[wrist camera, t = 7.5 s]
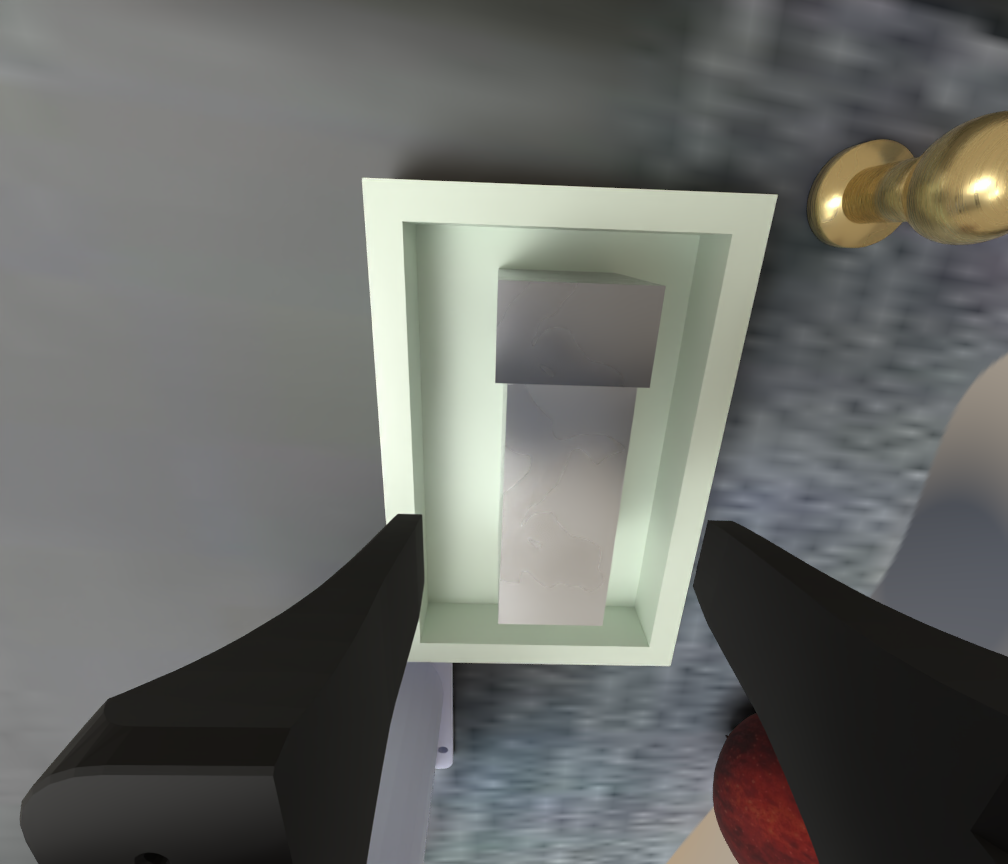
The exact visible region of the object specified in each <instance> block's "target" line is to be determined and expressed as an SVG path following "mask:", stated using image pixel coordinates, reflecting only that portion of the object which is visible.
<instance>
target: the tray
mask: <svg viewBox="0 0 1008 864" xmlns="http://www.w3.org/2000/svg"><path fill="white" fill-rule="evenodd" d="M362 186H363V201H364V215H365V229H366V243H367V258H368V272H369V286H370V300H371V314H372V329H373V343H374V357H375V371H376V386H377V400H378V414H379V428H380V443H381V457H382V471H383V485H384V500H385V514H386V525H387V524H388V523H389V522H390V521H391V520H392V519H393V518H394V517H395V516H396V515H397V514H422V519H423V548H424V577H425V582H424V589H423V596H422V603H421V609H420V615H419V620H418V624H417V628H416V631H415V635H414V639H413V642H412V646H411V650H410V653H409V657H408V660H407V662H445V663H507V664H569V665H631V666H670V665H671V661H672V657H673V652H674V648H675V643H676V639H677V635H678V630H679V626H680V621H681V617H682V613H683V608H684V604H685V600H686V595H687V591H688V586H689V582H690V578H691V573H692V569H693V565H694V560H695V556H696V551H697V547H698V543H699V538H700V534H701V529H702V525H703V521H704V516H705V512H706V508H707V503H708V499H709V494H710V490H711V486H712V481H713V477H714V472H715V468H716V464H717V459H718V455H719V451H720V446H721V442H722V437H723V433H724V429H725V424H726V420H727V416H728V411H729V407H730V402H731V398H732V394H733V389H734V385H735V380H736V376H737V372H738V367H739V363H740V359H741V354H742V350H743V345H744V341H745V337H746V332H747V328H748V323H749V319H750V315H751V310H752V306H753V302H754V297H755V293H756V288H757V284H758V280H759V275H760V271H761V267H762V262H763V258H764V253H765V249H766V245H767V240H768V236H769V231H770V227H771V223H772V218H773V214H774V210H775V205H776V201H777V196H778V195H774V194H750V193H725V192H700V191H676V190H651V189H627V188H602V187H577V186H553V185H528V184H504V183H479V182H454V181H430V180H405V179H380V178H362ZM498 269H523V270H550V271H577V272H605V273H617V274H621V275H625V276H629V277H633V278H637V279H640V280H644V281H648V282H652V283H656V284H660V285H664V286H666V288H665V294H664V300H663V307H662V313H661V319H660V326H659V332H658V338H657V345H656V351H655V357H654V364H653V370H652V376H651V383H650V388H637V395H636V402H635V408H634V415H633V422H632V429H631V435H630V442H629V449H628V456H627V462H626V469H625V476H624V483H623V489H622V496H621V503H620V510H619V517H618V523H617V530H616V537H615V544H614V550H613V557H612V564H611V571H610V577H609V584H608V591H607V598H606V604H605V611H604V618H603V625H602V626H583V625H529V624H498V519H499V491H500V463H501V435H502V407H503V383H495V368H496V326H497V291H498Z"/></svg>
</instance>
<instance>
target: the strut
mask: <svg viewBox="0 0 1008 864" xmlns="http://www.w3.org/2000/svg"><path fill="white" fill-rule="evenodd" d="M665 288H666V286H664V285H660V284H656V283H652V282H648V281H644V280H640V279H637V278H633V277H629V276H625V275H621V274H617V273H605V272H577V271H550V270H523V269H498V291H497V326H496V368H495V383H503V407H502V435H501V463H500V491H499V519H498V624H529V625H583V626H602V625H603V618H604V611H605V604H606V598H607V591H608V584H609V577H610V571H611V564H612V557H613V550H614V544H615V537H616V530H617V523H618V517H619V510H620V503H621V496H622V489H623V483H624V476H625V469H626V462H627V456H628V449H629V442H630V435H631V429H632V422H633V415H634V408H635V402H636V395H637V388H650V383H651V376H652V370H653V364H654V357H655V351H656V345H657V338H658V332H659V326H660V319H661V313H662V307H663V300H664V294H665Z"/></svg>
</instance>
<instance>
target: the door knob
mask: <svg viewBox="0 0 1008 864" xmlns="http://www.w3.org/2000/svg"><path fill="white" fill-rule="evenodd" d="M807 217H808V222H809V225H810V228H811V230H812V232H813V233H814V235H815V236H816V237H817V238H818V239H819V240H820V241H822V242H823V243H825V244H827V245H829V246H833V247H839V248H860V247H866V246H869V245H872V244H874V243H877V242H879V241H881V240H882V239H884V238H885V237H887V236H888V235H890V234H891V233H892V232H893V231H894V230H895V229H896V228H897V227H898V226H899V225H900V224H901V223H902V222H908V223H909V224H910V226H911V227H912V228H913V229H914V230H915V231H916V232H917V233H919V234H920V235H921V236H923V237H925V238H927V239H929V240H931V241H935V242H938V243H942V244H950V245H967V244H975V243H980V242H985V241H988V240H992V239H995V238H998V237H1000V236H1003V235H1005V234H1008V111H1001V112H996V113H990V114H987V115H983V116H980V117H977V118H974V119H972V120H970V121H967V122H965V123H963V124H961V125H959V126H957V127H955V128H954V129H952V130H950V131H949V132H947V133H946V134H944V135H943V136H942V137H940V138H939V139H938V140H936V141H935V142H934V143H933V144H932V145H931V146H930V147H929V148H928V149H927V150H926V151H925V152H924V153H923V154H922V155H921V156H920V157H917V158H914V157H913V155H912V154H911V152H910V151H909V150H908V149H907V148H906V147H905V146H903V145H902V144H900V143H898V142H895V141H892V140H885V139H884V140H874V141H869V142H866V143H862V144H858V145H855V146H852V147H849V148H847V149H845V150H843V151H842V152H840V153H838V154H837V155H836V156H834V157H833V158H832V159H831V160H830V161H829V162H828V163H827V164H826V165H825V166H824V167H823V168H822V169H821V171H820V172H819V174H818V175H817V177H816V179H815V180H814V182H813V185H812V187H811V190H810V193H809V196H808V201H807Z"/></svg>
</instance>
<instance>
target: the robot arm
mask: <svg viewBox="0 0 1008 864" xmlns="http://www.w3.org/2000/svg"><path fill="white" fill-rule="evenodd" d="M424 582H425V577H424V548H423V519H422V514H397V515H396V516H395V517H394V518H393V519H392V520H391V521H390V522H389V523H388V524H387V525H386V526H385V527H384V528H383V529H382V530H381V531H380V532H379V533H378V534H377V535H376V536H375V537H374V538H373V539H372V540H371V541H370V542H369V543H368V544H367V545H366V546H365V547H364V548H363V549H362V550H361V551H360V552H359V553H358V554H356V555H355V556H354V557H353V558H352V559H351V560H350V561H349V562H348V563H347V564H346V565H345V566H343V567H342V568H341V569H340V570H339V571H338V572H336V573H335V574H334V575H333V576H332V577H330V578H329V579H328V580H327V581H326V582H325V583H323V584H322V585H321V586H320V587H318V588H317V589H316V590H314V591H313V592H312V593H310V594H309V595H308V596H306V597H305V598H303V599H302V600H300V601H299V602H298V603H296V604H295V605H293V606H292V607H290V608H289V609H287V610H286V611H284V612H283V613H281V614H280V615H278V616H276V617H275V618H273V619H271V620H270V621H268V622H266V623H265V624H263V625H261V626H260V627H258V628H256V629H255V630H253V631H251V632H250V633H248V634H247V635H245V636H243V637H241V638H240V639H238V640H236V641H234V642H232V643H230V644H228V645H226V646H225V647H223V648H221V649H219V650H217V651H215V652H213V653H211V654H209V655H207V656H205V657H203V658H201V659H199V660H197V661H195V662H193V663H191V664H189V665H186V666H184V667H182V668H180V669H178V670H176V671H173V672H171V673H169V674H166V675H164V676H162V677H159V678H157V679H155V680H152V681H150V682H148V683H145V684H143V685H141V686H138V687H136V688H134V689H131V690H129V691H127V692H124V693H122V694H119V695H117V696H114V697H112V698H109V699H108V700H107V701H106V702H105V703H104V704H103V705H102V706H101V707H100V708H99V710H98V711H97V712H96V713H95V714H94V715H93V716H92V717H91V719H90V720H89V721H88V722H87V723H86V724H85V725H84V727H83V728H82V729H81V730H80V731H79V732H78V734H77V735H76V736H75V737H74V738H73V739H72V741H71V742H70V743H69V744H68V745H67V746H66V748H65V749H64V750H63V751H62V752H61V753H60V755H59V756H58V757H57V758H56V759H55V760H54V762H53V763H52V764H51V765H50V766H49V767H48V769H47V770H46V771H45V772H44V773H43V775H42V776H41V777H40V778H39V779H38V780H37V782H36V783H35V784H34V785H33V786H32V788H31V789H30V790H29V792H28V793H27V795H26V796H25V798H24V799H23V800H22V804H21V812H20V826H21V829H22V832H23V834H24V837H25V840H26V843H27V844H28V846H29V848H30V850H31V851H32V853H33V855H34V857H35V859H36V860H37V862H38V864H424V856H425V847H426V839H427V831H428V822H429V814H430V806H431V798H432V789H433V781H434V773H435V769H444V768H448V767H450V766H451V765H452V763H453V663H445V662H407V660H408V657H409V653H410V650H411V646H412V642H413V639H414V635H415V631H416V628H417V624H418V620H419V615H420V609H421V603H422V596H423V589H424ZM693 587H694V590H695V593H696V596H697V598H698V601H699V604H700V607H701V609H702V611H703V614H704V616H705V619H706V621H707V624H708V625H709V627H710V629H711V631H712V633H713V635H714V637H715V639H716V640H717V642H718V644H719V646H720V648H721V650H722V651H723V653H724V655H725V657H726V659H727V660H728V662H729V664H730V666H731V668H732V669H733V671H734V673H735V675H736V677H737V678H738V680H739V682H740V684H741V686H742V687H743V689H744V691H745V693H746V695H747V696H748V698H749V700H750V702H751V704H752V705H753V707H754V709H755V711H756V713H757V715H758V717H759V719H760V721H761V723H762V725H763V727H764V729H765V731H766V733H767V736H768V738H769V740H770V742H771V745H772V747H773V749H774V752H775V754H776V756H777V759H778V761H779V763H780V765H781V768H782V770H783V772H784V775H785V777H786V779H787V782H788V784H789V787H790V789H791V792H792V794H793V797H794V799H795V802H796V804H797V807H798V809H799V811H800V814H801V816H802V819H803V821H804V824H805V826H806V829H807V832H808V834H809V837H810V840H811V842H812V845H813V848H814V850H815V853H816V856H817V858H818V861H819V864H1008V657H1007V656H1004V655H1002V654H999V653H996V652H994V651H991V650H988V649H986V648H983V647H980V646H978V645H975V644H973V643H970V642H968V641H965V640H963V639H960V638H958V637H956V636H953V635H951V634H948V633H946V632H943V631H941V630H938V629H936V628H934V627H931V626H929V625H927V624H924V623H922V622H920V621H918V620H915V619H913V618H911V617H909V616H907V615H905V614H902V613H900V612H898V611H896V610H894V609H892V608H890V607H888V606H885V605H883V604H881V603H879V602H877V601H875V600H873V599H871V598H869V597H867V596H865V595H863V594H861V593H859V592H858V591H856V590H854V589H852V588H850V587H848V586H846V585H845V584H843V583H841V582H839V581H837V580H835V579H833V578H832V577H830V576H828V575H826V574H824V573H823V572H821V571H819V570H817V569H816V568H814V567H812V566H810V565H809V564H807V563H805V562H804V561H802V560H800V559H798V558H797V557H795V556H793V555H792V554H790V553H788V552H787V551H785V550H783V549H782V548H780V547H778V546H776V545H775V544H773V543H771V542H770V541H768V540H766V539H765V538H763V537H761V536H760V535H758V534H756V533H754V532H753V531H751V530H749V529H747V528H745V527H743V526H741V525H739V524H737V523H735V522H733V521H712V520H708V523H707V527H706V531H705V536H704V540H703V544H702V549H701V553H700V558H699V562H698V566H697V571H696V575H695V580H694V584H693Z"/></svg>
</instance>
